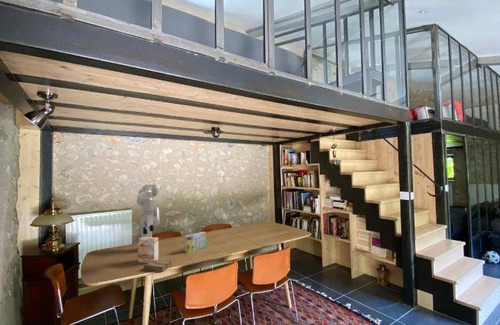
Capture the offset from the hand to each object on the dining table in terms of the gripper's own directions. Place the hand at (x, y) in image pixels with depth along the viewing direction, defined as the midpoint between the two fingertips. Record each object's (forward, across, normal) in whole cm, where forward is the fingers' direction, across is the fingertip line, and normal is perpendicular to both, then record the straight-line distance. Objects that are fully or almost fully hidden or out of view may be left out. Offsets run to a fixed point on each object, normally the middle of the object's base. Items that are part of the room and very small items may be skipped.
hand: (148, 232), depth 202 cm
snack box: (+24, -33, +30) cm, 50 cm away
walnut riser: (+25, +11, +14) cm, 31 cm away
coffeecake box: (+24, -1, 0) cm, 24 cm away
